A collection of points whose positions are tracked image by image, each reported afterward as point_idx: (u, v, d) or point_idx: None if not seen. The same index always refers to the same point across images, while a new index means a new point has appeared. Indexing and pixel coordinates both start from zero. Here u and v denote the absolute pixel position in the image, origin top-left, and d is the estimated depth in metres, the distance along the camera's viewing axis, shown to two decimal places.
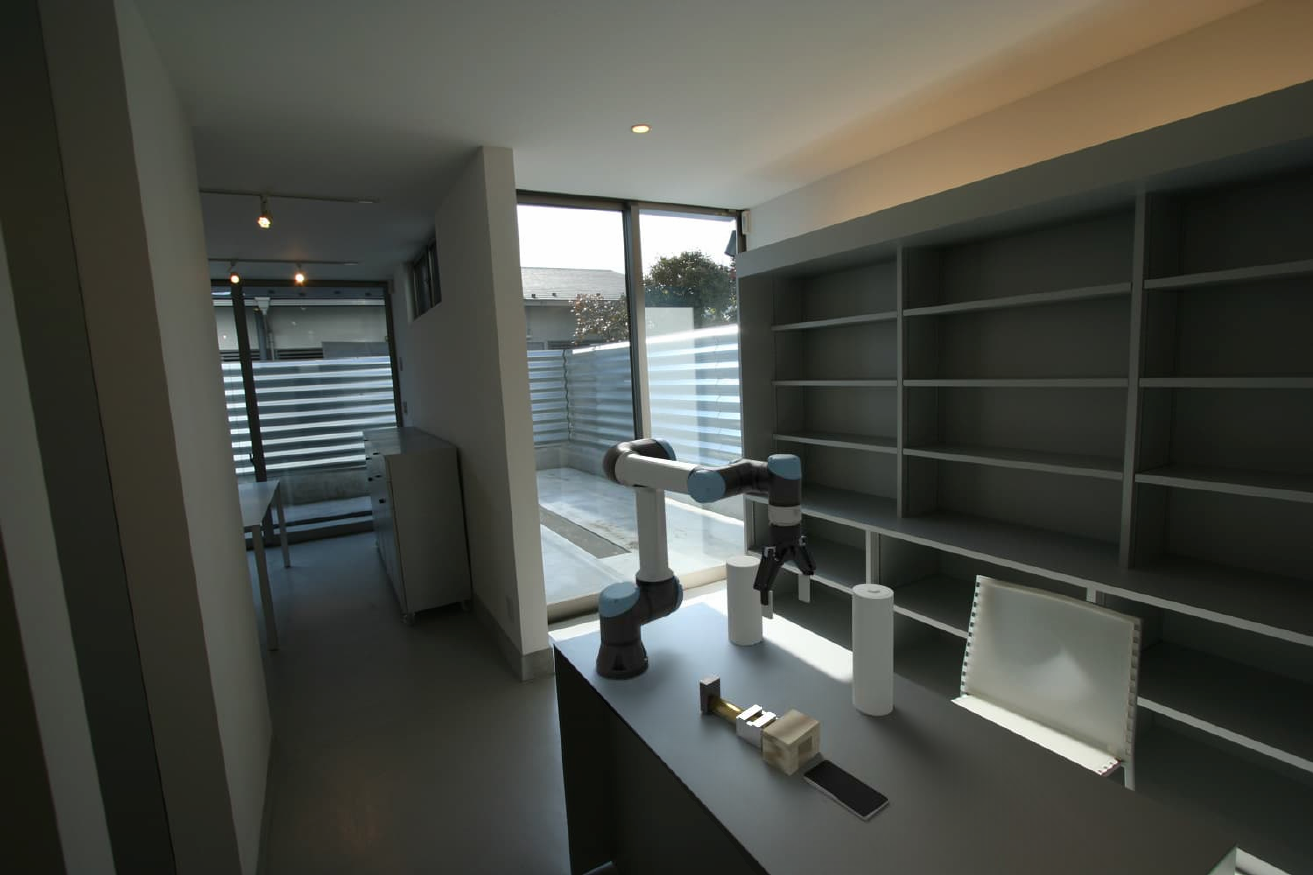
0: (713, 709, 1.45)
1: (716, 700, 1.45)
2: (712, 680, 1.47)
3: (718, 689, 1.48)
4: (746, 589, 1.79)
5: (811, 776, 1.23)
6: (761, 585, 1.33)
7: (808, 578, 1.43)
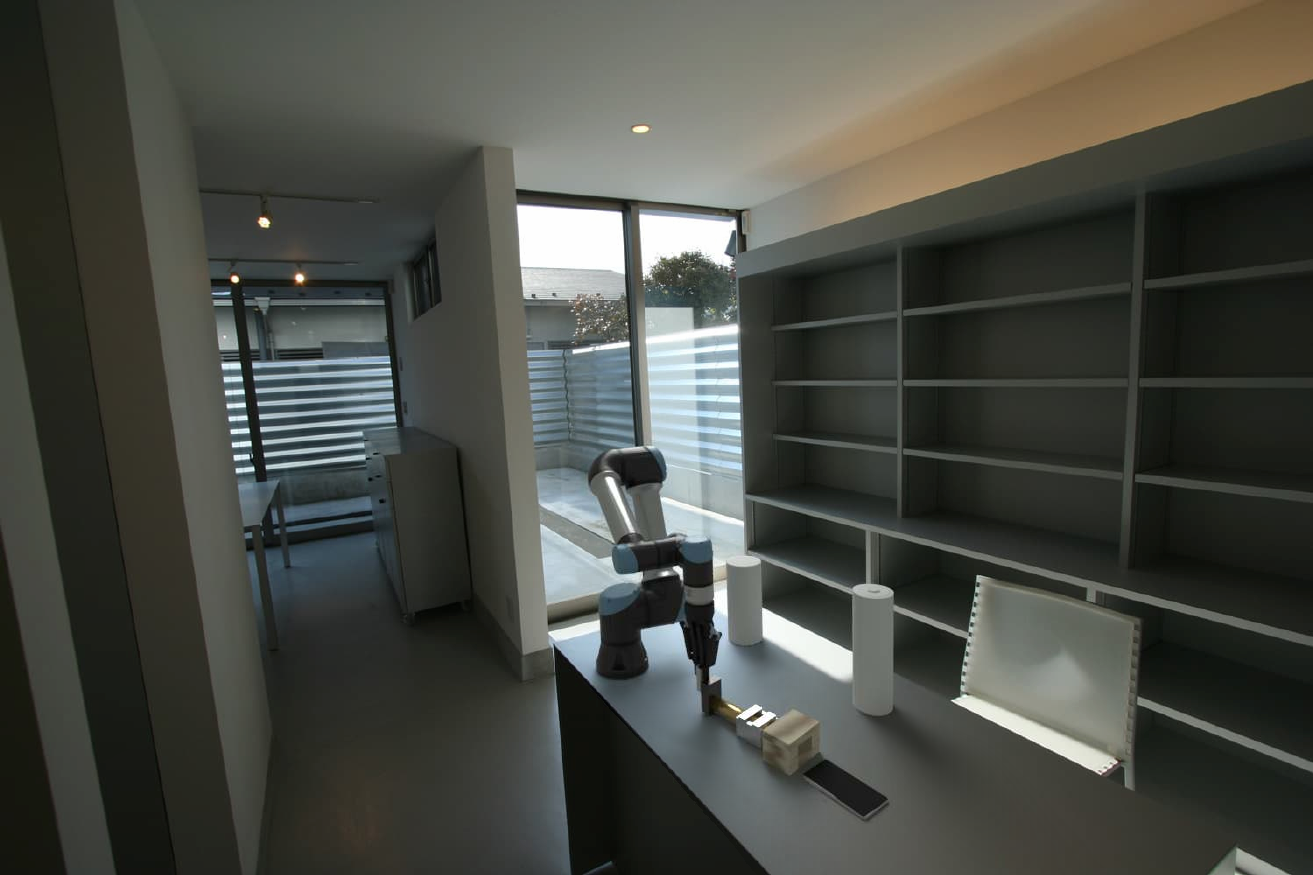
0: (714, 710, 1.45)
1: (718, 700, 1.45)
2: (713, 681, 1.46)
3: (719, 690, 1.48)
4: (746, 588, 1.79)
5: (811, 775, 1.23)
6: None
7: (698, 669, 1.48)
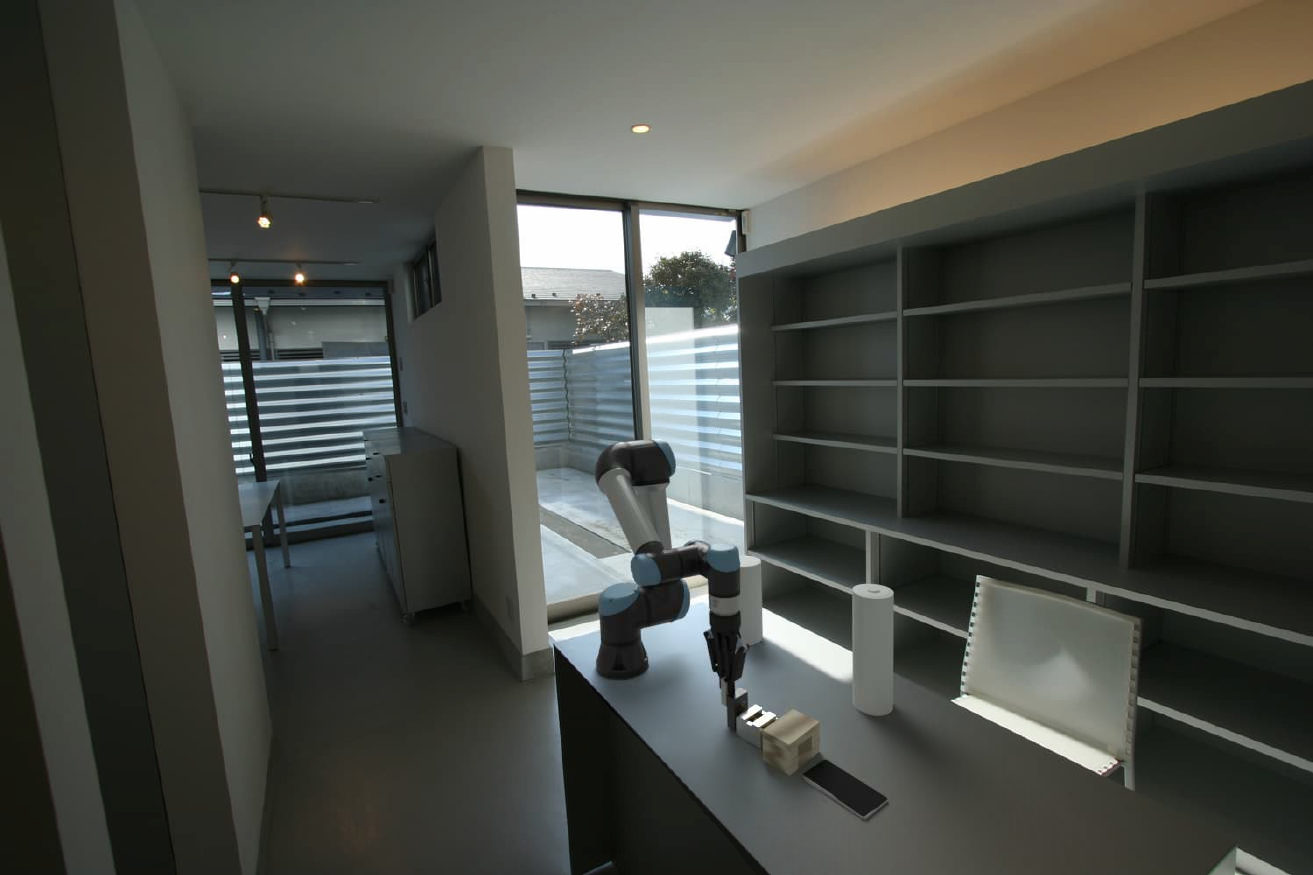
0: None
1: None
2: (739, 694, 1.40)
3: (746, 703, 1.41)
4: (746, 588, 1.79)
5: (810, 775, 1.23)
6: None
7: (724, 682, 1.41)
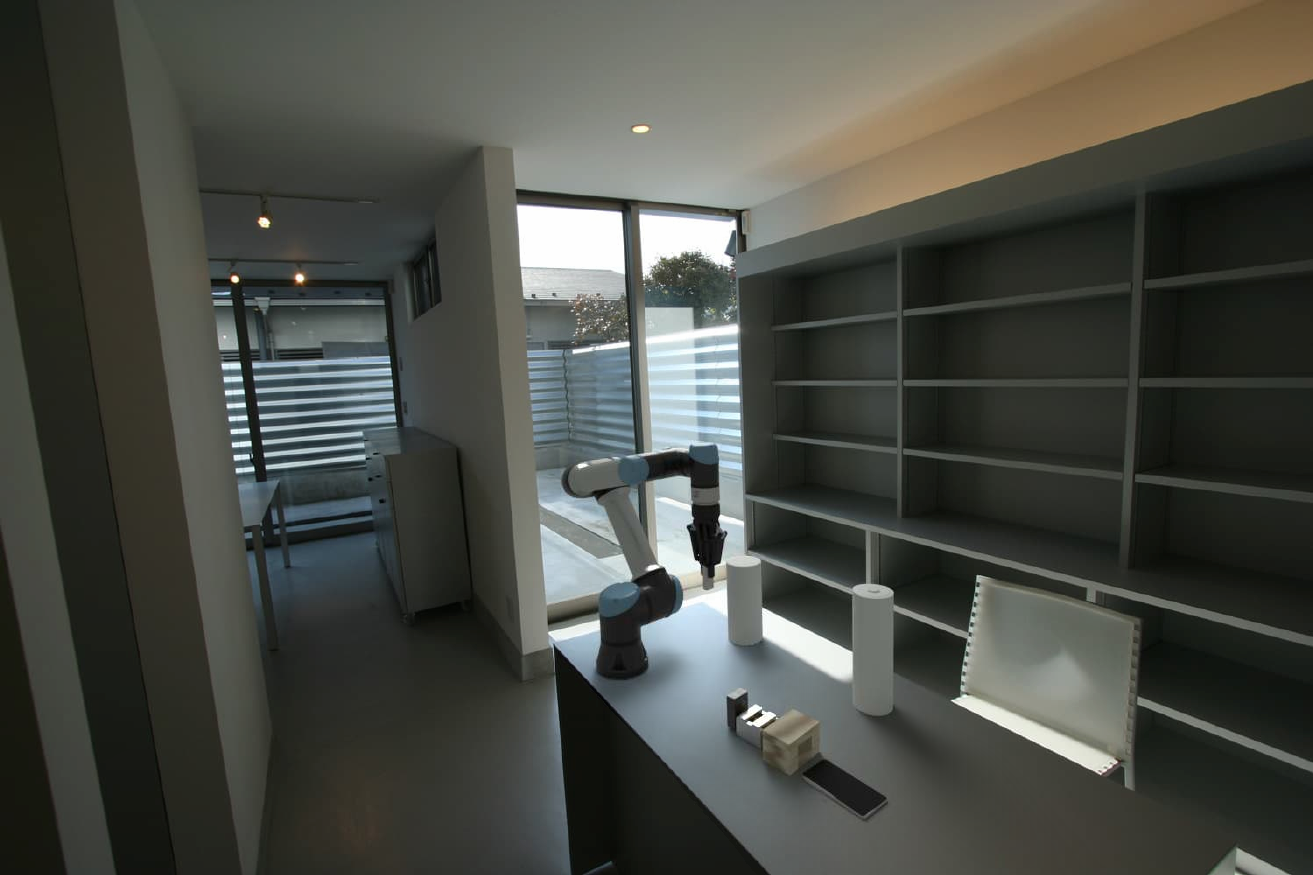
0: None
1: None
2: (739, 694, 1.40)
3: (746, 703, 1.41)
4: (746, 589, 1.79)
5: (810, 775, 1.23)
6: None
7: (705, 568, 1.57)
